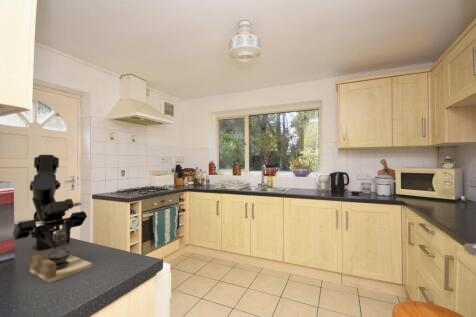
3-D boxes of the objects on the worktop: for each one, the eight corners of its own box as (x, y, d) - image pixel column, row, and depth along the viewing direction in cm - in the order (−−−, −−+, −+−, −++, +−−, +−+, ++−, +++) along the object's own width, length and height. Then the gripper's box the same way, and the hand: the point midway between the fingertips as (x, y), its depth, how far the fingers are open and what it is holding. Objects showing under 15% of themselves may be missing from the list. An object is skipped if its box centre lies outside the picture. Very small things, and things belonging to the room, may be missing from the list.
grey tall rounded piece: (44, 270, 70) (44, 231, 70) (51, 262, 75) (52, 226, 76) (67, 267, 72) (67, 229, 72) (72, 260, 78) (73, 224, 78)
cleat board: (29, 271, 73) (29, 255, 73) (71, 258, 84) (71, 244, 84) (49, 283, 66) (49, 265, 67) (92, 266, 77) (92, 251, 77)
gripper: (17, 195, 68) (32, 239, 62) (85, 189, 84) (101, 223, 79) (7, 218, 72) (20, 261, 66) (73, 208, 88) (88, 242, 82)
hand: (61, 245), depth 73 cm, fingers closed on grey tall rounded piece, 4 cm apart
